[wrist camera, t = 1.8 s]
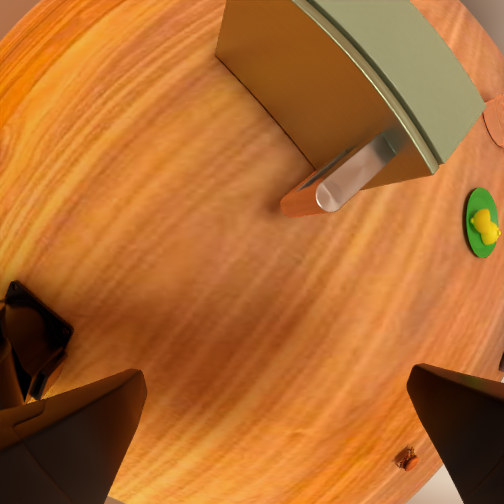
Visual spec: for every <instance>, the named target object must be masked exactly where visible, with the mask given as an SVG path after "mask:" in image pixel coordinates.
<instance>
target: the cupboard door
mask: <svg viewBox="0 0 504 504" xmlns="http://www.w3.org/2000/svg"><path fill="white" fill-rule="evenodd" d="M215 55H216V56H217V57H218V58H219V59H220V60H221V61H222V62H223V63H224V64H225V65H226V66H227V67H228V68H229V69H230V70H231V71H232V72H233V74H234V75H235V76H236V77H237V78H238V79H239V80H240V81H241V82H242V83H243V84H244V85H245V86H246V87H247V88H248V89H249V91H250V92H251V93H252V94H253V95H254V96H255V97H256V98H257V99H258V100H259V102H260V103H261V104H262V105H263V106H264V107H265V108H266V109H267V111H268V112H269V113H270V114H271V115H272V116H273V118H274V119H275V120H276V121H277V122H278V123H279V125H280V126H281V127H282V128H283V129H284V130H285V132H286V133H287V134H288V135H289V137H290V138H291V139H292V140H293V141H294V143H295V144H296V145H297V146H298V148H299V149H300V150H301V151H302V153H303V154H304V155H305V156H306V158H307V159H308V160H309V161H310V163H311V164H312V165H313V167H314V168H315V169H316V171H314V172H313V173H312V174H311V175H309V176H308V177H307V178H306V179H305V180H303V181H302V182H301V183H300V184H299V185H297V186H296V187H295V188H294V189H293V190H291V191H290V192H289V193H288V194H287V195H285V196H284V197H283V198H282V200H281V203H280V208H281V211H282V213H283V214H284V215H285V216H287V217H290V218H295V217H302V216H309V215H316V214H324V213H331V212H336V211H337V210H339V209H340V208H341V207H342V206H343V205H344V204H345V203H346V202H347V201H348V200H350V199H351V198H352V197H353V196H354V195H355V194H356V193H357V192H358V191H360V190H365V189H369V188H374V187H378V186H383V185H388V184H392V183H397V182H402V181H406V180H411V179H416V178H421V177H426V176H431V175H434V173H435V172H436V171H437V170H438V169H439V165H438V163H437V161H436V160H435V158H434V156H433V154H432V153H431V151H430V149H429V147H428V146H427V144H426V142H425V141H424V139H423V138H422V136H421V134H420V133H419V131H418V130H417V128H416V126H415V125H414V123H413V122H412V120H411V119H410V117H409V116H408V114H407V113H406V112H405V110H404V109H403V107H402V106H401V104H400V103H399V102H398V100H397V99H396V97H395V96H394V95H393V93H392V92H391V91H390V89H389V88H388V87H387V86H386V84H385V83H384V82H383V80H382V79H381V78H380V77H379V75H378V74H377V73H376V72H375V70H374V69H373V68H372V67H371V66H370V64H369V63H368V62H367V61H366V60H365V59H364V58H363V56H362V55H361V54H360V53H359V52H358V51H357V50H356V49H355V47H354V46H353V45H352V44H351V43H350V42H349V41H348V40H347V39H346V38H345V37H344V36H343V35H342V34H341V33H340V32H339V31H338V30H337V29H336V28H335V27H334V26H333V25H332V24H331V23H330V22H329V21H328V20H327V19H326V18H325V17H324V16H323V15H322V14H321V13H320V12H319V11H318V10H316V9H315V8H314V7H313V6H312V5H311V4H310V3H309V2H307V1H306V0H227V2H226V6H225V10H224V15H223V19H222V24H221V28H220V33H219V38H218V43H217V48H216V53H215Z"/></svg>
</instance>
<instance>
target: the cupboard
mask: <svg viewBox="0 0 504 504" xmlns="http://www.w3.org/2000/svg"><path fill="white" fill-rule="evenodd" d="M306 1H307V2H309V3H310V4H311V5H312V6H313V7H314V8H315V9H316V10H318V11H319V12H320V13H321V14H322V15H323V16H324V17H325V18H326V19H327V20H328V21H329V22H330V23H331V24H332V25H333V26H334V27H335V28H336V29H337V30H338V31H339V32H340V33H341V34H342V35H343V36H344V37H345V38H346V39H347V40H348V41H349V42H350V43H351V44H352V45H353V46H354V47H355V49H356V50H357V51H358V52H359V53H360V54H361V55H362V56H363V58H364V59H365V60H366V61H367V62H368V63H369V64H370V66H371V67H372V68H373V69H374V70H375V72H376V73H377V74H378V75H379V77H380V78H381V79H382V80H383V82H384V83H385V84H386V86H387V87H388V88H389V89H390V91H391V92H392V93H393V95H394V96H395V97H396V99H397V100H398V102H399V103H400V104H401V106H402V107H403V109H404V110H405V112H406V113H407V114H408V116H409V117H410V119H411V120H412V122H413V123H414V125H415V126H416V128H417V130H418V131H419V133H420V134H421V136H422V138H423V139H424V141H425V142H426V144H427V146H428V147H429V149H430V151H431V153H432V154H433V156H434V158H435V160H436V161H437V163H438V165H440V164H444V163H445V162H446V161H447V160H448V158H449V157H450V156H451V154H452V153H453V152H454V151H455V149H456V148H457V147H458V145H459V144H460V143H461V141H462V140H463V139H464V137H465V136H466V135H467V133H468V132H469V131H470V129H471V128H472V127H473V125H474V124H475V122H476V121H477V120H478V118H479V117H480V115H481V114H482V113H483V111H484V110H485V108H486V107H487V106H486V104H485V102H484V100H483V99H482V97H481V95H480V93H479V92H478V90H477V88H476V87H475V85H474V83H473V82H472V80H471V79H470V77H469V76H468V74H467V72H466V71H465V69H464V68H463V66H462V65H461V63H460V62H459V61H458V59H457V58H456V56H455V55H454V53H453V52H452V51H451V49H450V48H449V47H448V45H447V44H446V43H445V41H444V40H443V39H442V37H441V36H440V35H439V34H438V32H437V31H436V30H435V29H434V28H433V26H432V25H431V24H430V23H429V22H428V20H427V19H426V18H425V17H424V16H423V15H422V14H421V13H420V11H419V10H418V9H417V8H416V7H415V6H414V5H413V4H412V3H411V2H410V1H409V0H306Z"/></svg>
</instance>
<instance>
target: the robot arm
mask: <svg viewBox="0 0 504 504" xmlns="http://www.w3.org/2000/svg"><path fill="white" fill-rule="evenodd" d="M15 285H16V287H17V290H16V289H15ZM65 328H66V329H68V330H69V333H67V332H66V331H65ZM73 333H74V329H73V327H72V326H71V325H70V324H69V323H67V322H66V321H65V320H63V319H62V318H61V317H60V316H58V315H57V314H56V313H55V312H53V311H52V310H51V309H50V308H49V307H47V306H46V305H45V304H44V303H43V302H41V301H40V300H39V299H38V298H37V297H36V296H35V295H33V294H32V293H31V292H30V291H29V290H28V289H27V288H26V287H25V286H23V285H22V284H21V283H20V282H19V281H18V280H14V281H12V282H11V283H10V286H9V288H8V291H7V294H6V296H5V298H4V299H1V300H0V504H104V502H105V500H106V498H107V495H108V493H109V491H110V488H111V486H112V484H113V481H114V479H115V477H116V474H117V472H118V470H119V468H120V465H121V463H122V461H123V459H124V456H125V454H126V452H127V450H128V447H129V445H130V443H131V441H132V439H133V436H134V434H135V432H136V429H137V427H138V424H139V420H140V417H141V414H142V410H143V407H144V404H145V400H146V397H147V387H146V383H145V379H144V375H143V372H142V371H141V370H138V369H128V370H125V371H123V372H120V373H118V374H115V375H112V376H110V377H107V378H104V379H101V380H99V381H96V382H93V383H90V384H88V385H85V386H82V387H79V388H76V389H73V390H70V391H67V392H64V393H61V394H58V395H55V396H52V397H49V398H47V399H42V400H41V398H42V397H43V396H44V395H45V393H46V392H47V391H48V390H49V388H50V387H51V386H52V385H53V383H54V382H55V381H56V380H57V378H58V377H59V375H60V373H61V371H62V368H63V366H64V364H65V362H66V360H67V357H68V354H67V352H66V351H65V350H66V348H67V346H68V344H69V342H70V340H71V338H72V336H73ZM407 391H408V394H409V396H410V398H411V401H412V403H413V405H414V408H415V410H416V412H417V415H418V417H419V419H420V421H421V423H422V425H423V426H424V428H425V430H426V432H427V434H428V435H429V437H430V439H431V441H432V443H433V444H434V446H435V448H436V450H437V452H438V454H439V456H440V457H441V459H442V461H443V463H444V465H445V467H446V469H447V471H448V472H449V475H450V476H451V478H452V480H453V482H454V484H455V486H456V488H457V490H458V492H459V494H460V497H461V499H462V501H463V503H464V504H504V383H501V382H497V381H492V380H488V379H484V378H479V377H475V376H471V375H467V374H463V373H459V372H455V371H451V370H447V369H443V368H439V367H436V366H432V365H428V364H424V363H422V364H416V365H414V366H413V368H412V370H411V373H410V376H409V379H408V381H407ZM32 397H33V398H34V399H35V400H39V401H35V402H32V403H28V401H29V400H30V399H31V398H32ZM27 403H28V404H27Z"/></svg>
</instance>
